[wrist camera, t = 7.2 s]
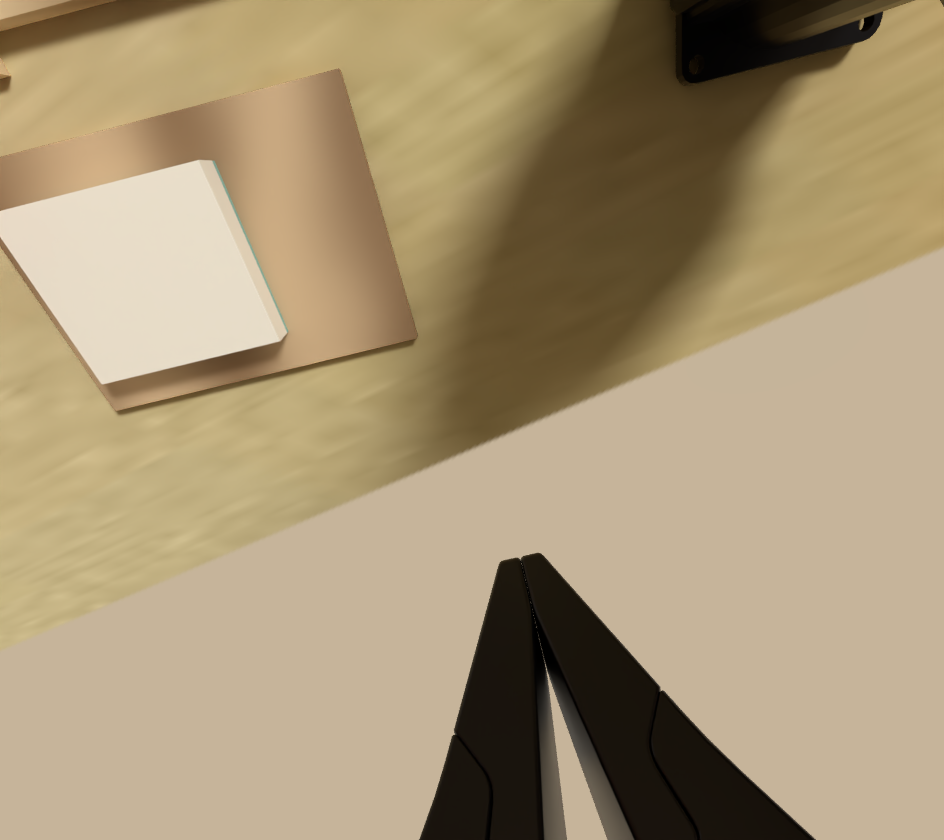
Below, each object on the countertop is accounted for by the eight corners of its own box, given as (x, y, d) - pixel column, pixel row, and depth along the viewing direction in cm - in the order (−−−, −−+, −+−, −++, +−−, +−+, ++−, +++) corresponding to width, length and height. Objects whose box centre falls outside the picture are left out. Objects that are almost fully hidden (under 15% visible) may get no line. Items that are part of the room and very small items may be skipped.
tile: (198, 160, 14) (-16, 215, 14) (280, 341, 17) (102, 384, 17) (214, 160, 15) (15, 211, 15) (288, 331, 18) (120, 372, 18)
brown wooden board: (340, 71, 15) (338, 68, 14) (417, 335, 19) (417, 338, 19) (-41, 170, 15) (-52, 170, 15) (120, 406, 19) (114, 411, 19)
